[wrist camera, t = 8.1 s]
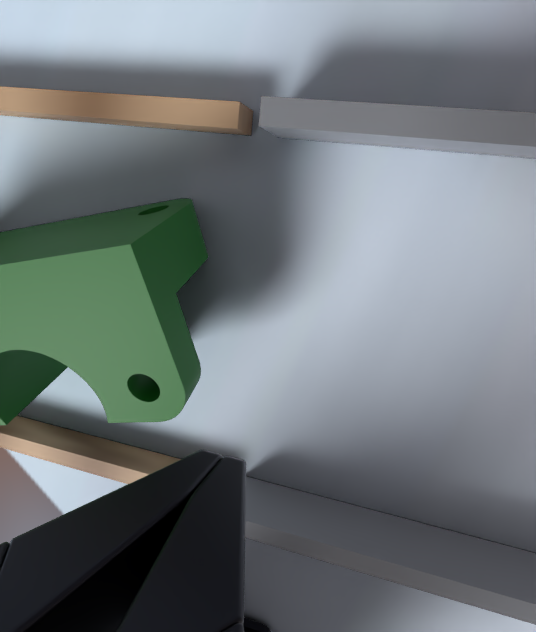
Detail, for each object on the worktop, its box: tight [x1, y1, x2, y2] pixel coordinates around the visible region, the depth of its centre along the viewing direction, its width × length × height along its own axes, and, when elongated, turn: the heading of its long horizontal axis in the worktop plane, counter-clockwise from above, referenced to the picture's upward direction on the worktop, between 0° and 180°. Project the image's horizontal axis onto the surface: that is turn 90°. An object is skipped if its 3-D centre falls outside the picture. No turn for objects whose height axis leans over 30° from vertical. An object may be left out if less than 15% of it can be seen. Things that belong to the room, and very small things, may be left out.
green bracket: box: [0, 199, 208, 425], centre depth 16 cm, size 12×6×9 cm, turn 94°
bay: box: [0, 86, 253, 484], centre depth 18 cm, size 13×16×2 cm
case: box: [245, 96, 536, 625], centre depth 14 cm, size 14×16×2 cm
